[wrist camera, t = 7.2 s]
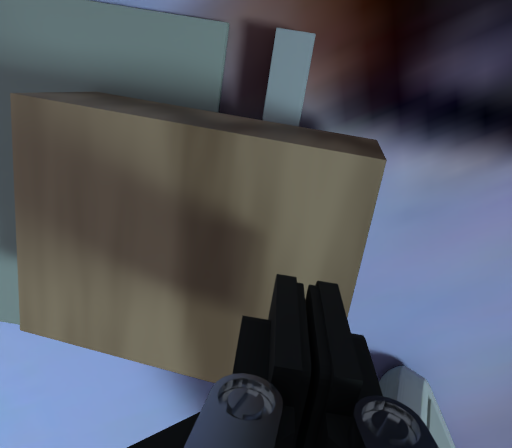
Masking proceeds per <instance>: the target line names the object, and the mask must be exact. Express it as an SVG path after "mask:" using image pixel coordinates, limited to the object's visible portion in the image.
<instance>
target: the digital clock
mask: <svg viewBox="0 0 512 448" xmlns="http://www.w3.org/2000/svg"><path fill="white" fill-rule="evenodd" d="M379 385H380V388H381V391H382V394H383V397H388V398H391V399H394V400H396V401H399V402H401V403H403V404H404V405H406V406H408V407H409V408H411V409H412V410H413V411H414V412H415V413H416V414H418V415H419V417H420V418H421V419H422V420H423V422H424V423H425V425H426V426H427V428H428V430H429V431H430V433H431V435H432V437H433V438H434V440H435V442H436V443H437V445H438V447H439V448H455V445H454V443H453V441H452V438H451V436H450V433H449V431H448V428H447V426H446V424H445V421H444V419H443V416H442V414H441V411H440V409H439V406H438V404H437V402H436V399H435V397H434V395H433V392H432V390H431V388H430V385H429V384H428V382H427V380H426V379H424V378H423V377H421V376H420V375H419V374H417V373H416V372H414V371H412V370H411V369H409V368H408V367H406V366H398V367H395V368H393V369H391V370H389V371H387V372H386V373H385V374H384V375H383V376H382V378H381V379H380V381H379Z"/></svg>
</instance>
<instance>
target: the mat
mask: <svg viewBox="0 0 512 448" xmlns="http://www.w3.org/2000/svg"><path fill="white" fill-rule="evenodd" d="M228 31H229V23H226V22H220V21H214V20H207V19H201V18H195V17H189V16H182V15H176V14H170V13H164V12H157V11H151V10H145V9H139V8H132V7H126V6H120V5H114V4H107V3H101V2H95V1H89V0H0V321H1V322H7V323H13V324H19V325H20V315H19V291H18V267H17V243H16V220H15V196H14V172H13V148H12V125H11V101H10V93H40V92H101V93H107V94H113V95H118V96H124V97H130V98H136V99H142V100H147V101H153V102H159V103H165V104H171V105H176V106H182V107H188V108H194V109H200V110H205V111H211V112H217V113H219V106H220V98H221V89H222V81H223V72H224V64H225V56H226V47H227V39H228Z"/></svg>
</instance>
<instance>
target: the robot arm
mask: <svg viewBox="0 0 512 448" xmlns="http://www.w3.org/2000/svg"><path fill="white" fill-rule="evenodd" d="M127 448H439V447H438V445H437V443H436V442H435V440H434V438H433V437H432V435H431V433H430V431H429V430H428V428H427V426H426V425H425V423H424V422H423V420H422V419H421V418H420V417H419V415H418V414H416V413H415V412H414V411H413V410H412V409H411V408H409V407H408V406H406V405H404V404H403V403H401V402H399V401H396V400H394V399H391V398H388V397H383V394H382V391H381V388H380V385H379V381H378V378H377V375H376V372H375V369H374V365H373V362H372V359H371V356H370V353H369V349H368V346H367V343H366V340H365V338H364V336H363V335H358V334H352V333H351V332H350V328H349V324H348V320H347V317H346V313H345V309H344V305H343V301H342V298H341V294H340V290H339V286H338V284H336V283H330V282H323V281H317V282H316V285H309V286H308V289H307V294H306V298H305V293H304V284H303V283H297V277H293V276H287V275H281V274H277V275H276V279H275V284H274V290H273V295H272V301H271V306H270V311H269V317H268V320H267V319H261V318H255V317H249V316H243V315H242V321H241V327H240V333H239V338H238V344H237V350H236V356H235V361H234V367H233V373H232V374H231V375H228V376H225V377H223V378H221V379H220V380H218V381H217V382H216V383H215V384H214V385H213V387H212V388H211V390H210V392H209V395H208V397H207V399H206V401H205V403H204V405H203V407H202V410H201V412H199V413H197V414H195V415H193V416H191V417H189V418H187V419H185V420H183V421H181V422H178V423H176V424H174V425H172V426H170V427H168V428H166V429H164V430H162V431H160V432H158V433H156V434H154V435H152V436H150V437H148V438H146V439H144V440H142V441H140V442H138V443H136V444H134V445H131V446H129V447H127Z"/></svg>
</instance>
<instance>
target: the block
mask: <svg viewBox="0 0 512 448" xmlns="http://www.w3.org/2000/svg"><path fill="white" fill-rule="evenodd" d="M10 101H11V125H12V148H13V172H14V196H15V220H16V243H17V267H18V291H19V315H20V330H21V331H25V332H29V333H32V334H36V335H40V336H43V337H47V338H51V339H54V340H58V341H62V342H65V343H69V344H73V345H76V346H80V347H84V348H87V349H91V350H95V351H98V352H102V353H106V354H110V355H113V356H117V357H121V358H124V359H128V360H132V361H135V362H139V363H143V364H146V365H150V366H154V367H157V368H161V369H165V370H168V371H172V372H176V373H179V374H183V375H187V376H190V377H194V378H198V379H201V380H205V381H209V382H212V383H216V382H217V381H218V380H220V379H221V378H223V377H225V376H228V375H231V374H232V373H233V367H234V361H235V356H236V350H237V344H238V338H239V333H240V327H241V321H242V315H243V316H249V317H255V318H261V319H267V320H268V317H269V311H270V306H271V301H272V295H273V290H274V284H275V279H276V275H277V274H281V275H287V276H293V277H297V283H303V284H304V293H305V298H306V294H307V289H308V286H309V285H316V282H317V281H323V282H330V283H336V284H338V286H339V290H340V294H341V298H342V301H343V305H344V309H345V313H346V317H347V316H348V312H349V308H350V304H351V300H352V296H353V292H354V288H355V284H356V280H357V276H358V272H359V268H360V264H361V260H362V256H363V252H364V248H365V244H366V240H367V236H368V232H369V228H370V224H371V220H372V216H373V212H374V208H375V204H376V200H377V196H378V192H379V188H380V184H381V180H382V176H383V172H384V168H385V164H386V158H385V156H384V154H383V152H382V150H381V148H380V146H379V144H378V142H377V140H374V139H368V138H362V137H356V136H350V135H345V134H339V133H333V132H327V131H321V130H316V129H310V128H304V127H298V126H292V125H287V124H281V123H275V122H269V121H263V120H258V119H252V118H246V117H240V116H234V115H229V114H223V113H217V112H211V111H205V110H200V109H194V108H188V107H182V106H176V105H171V104H165V103H159V102H153V101H147V100H142V99H136V98H130V97H124V96H118V95H113V94H107V93H101V92H40V93H10Z"/></svg>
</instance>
